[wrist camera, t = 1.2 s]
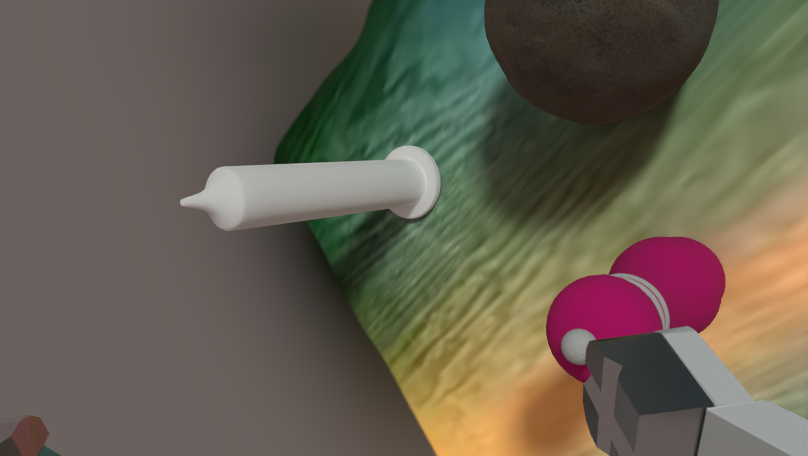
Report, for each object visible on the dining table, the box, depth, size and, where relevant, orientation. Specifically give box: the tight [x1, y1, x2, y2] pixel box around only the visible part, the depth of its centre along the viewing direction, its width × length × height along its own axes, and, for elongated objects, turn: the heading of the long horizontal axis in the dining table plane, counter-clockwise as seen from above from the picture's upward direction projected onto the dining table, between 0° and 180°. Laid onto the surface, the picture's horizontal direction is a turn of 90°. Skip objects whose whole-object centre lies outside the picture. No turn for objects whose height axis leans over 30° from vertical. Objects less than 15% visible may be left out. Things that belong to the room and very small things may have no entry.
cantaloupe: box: [484, 0, 719, 125], centre depth 39 cm, size 14×14×15 cm
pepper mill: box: [546, 237, 725, 383], centre depth 37 cm, size 7×7×20 cm
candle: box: [180, 146, 441, 231], centre depth 50 cm, size 7×7×25 cm
